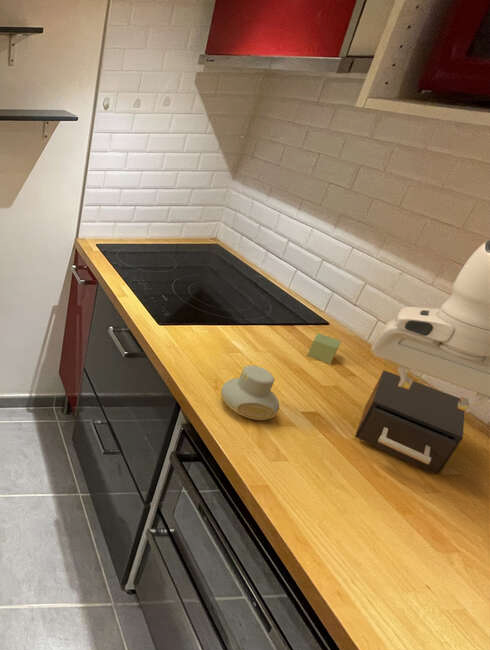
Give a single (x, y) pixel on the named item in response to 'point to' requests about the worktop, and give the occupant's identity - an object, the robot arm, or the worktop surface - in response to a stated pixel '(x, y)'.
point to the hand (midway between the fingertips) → (431, 397)
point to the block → (324, 348)
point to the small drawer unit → (417, 407)
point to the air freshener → (251, 394)
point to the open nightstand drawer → (407, 439)
